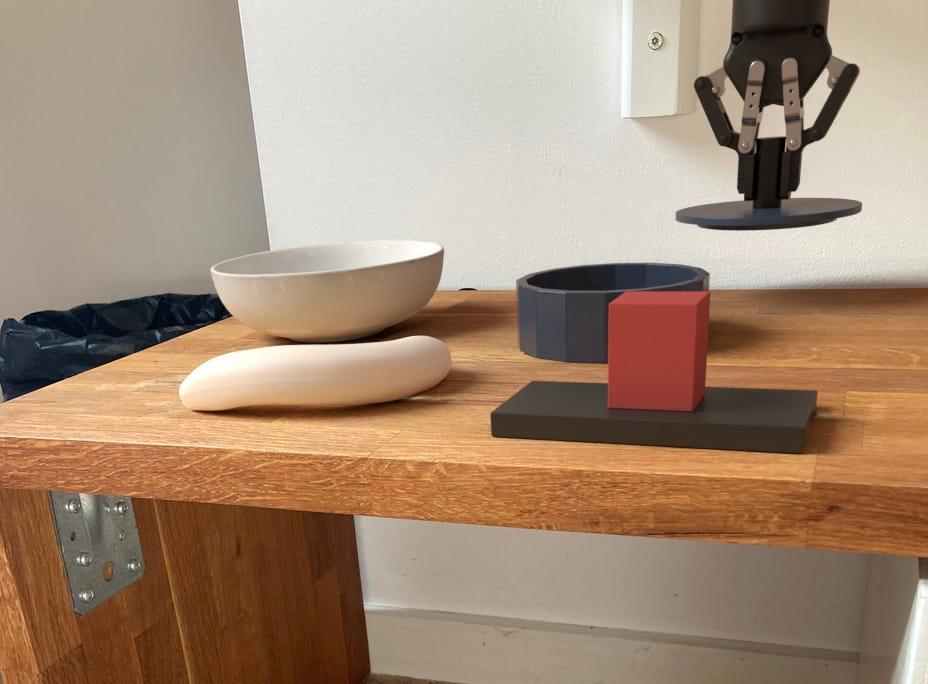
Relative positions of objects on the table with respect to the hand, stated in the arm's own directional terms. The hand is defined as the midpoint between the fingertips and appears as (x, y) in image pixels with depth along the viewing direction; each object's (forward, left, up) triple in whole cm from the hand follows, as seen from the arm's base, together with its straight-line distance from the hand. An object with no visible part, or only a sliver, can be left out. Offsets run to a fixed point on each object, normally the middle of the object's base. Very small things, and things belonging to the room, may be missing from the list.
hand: (767, 198), depth 89 cm
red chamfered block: (+1, +39, -8) cm, 40 cm away
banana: (+26, +35, -9) cm, 45 cm away
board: (+1, +39, -9) cm, 40 cm away
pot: (+9, +18, -9) cm, 22 cm away
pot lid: (0, 0, -1) cm, 1 cm away
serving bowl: (+36, +14, -9) cm, 40 cm away
